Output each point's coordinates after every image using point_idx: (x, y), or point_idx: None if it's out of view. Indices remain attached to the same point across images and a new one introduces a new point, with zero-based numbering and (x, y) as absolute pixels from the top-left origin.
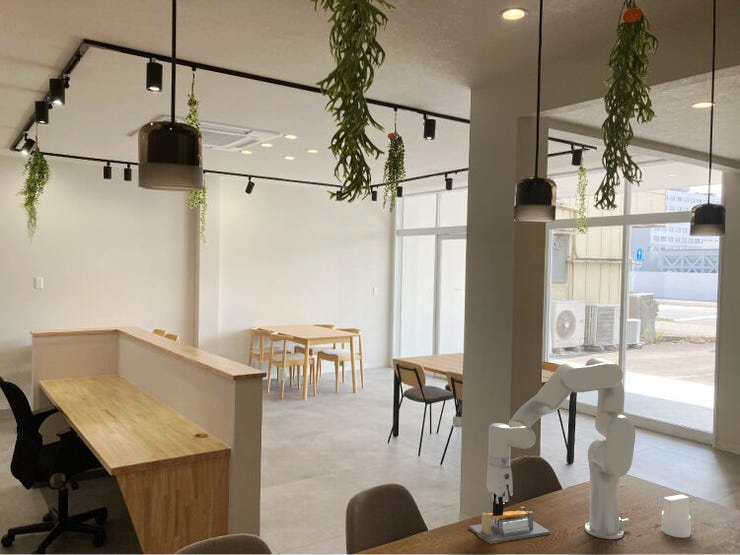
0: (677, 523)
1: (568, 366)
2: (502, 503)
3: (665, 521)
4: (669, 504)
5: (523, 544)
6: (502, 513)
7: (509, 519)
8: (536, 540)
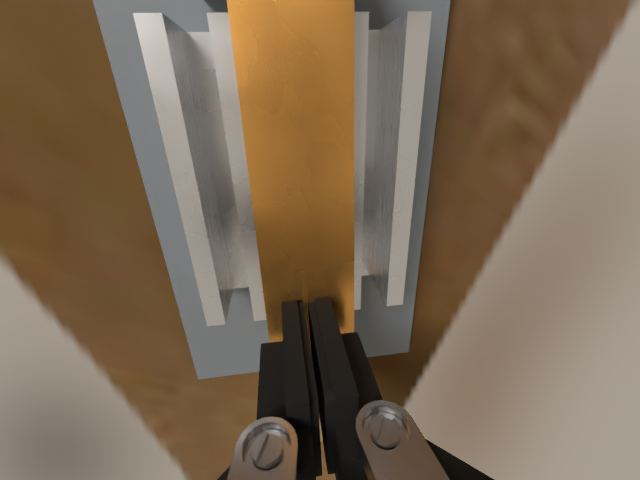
0: None
1: None
2: (391, 419)
3: None
4: None
5: (484, 176)
6: (329, 303)
7: (354, 223)
8: (485, 47)
